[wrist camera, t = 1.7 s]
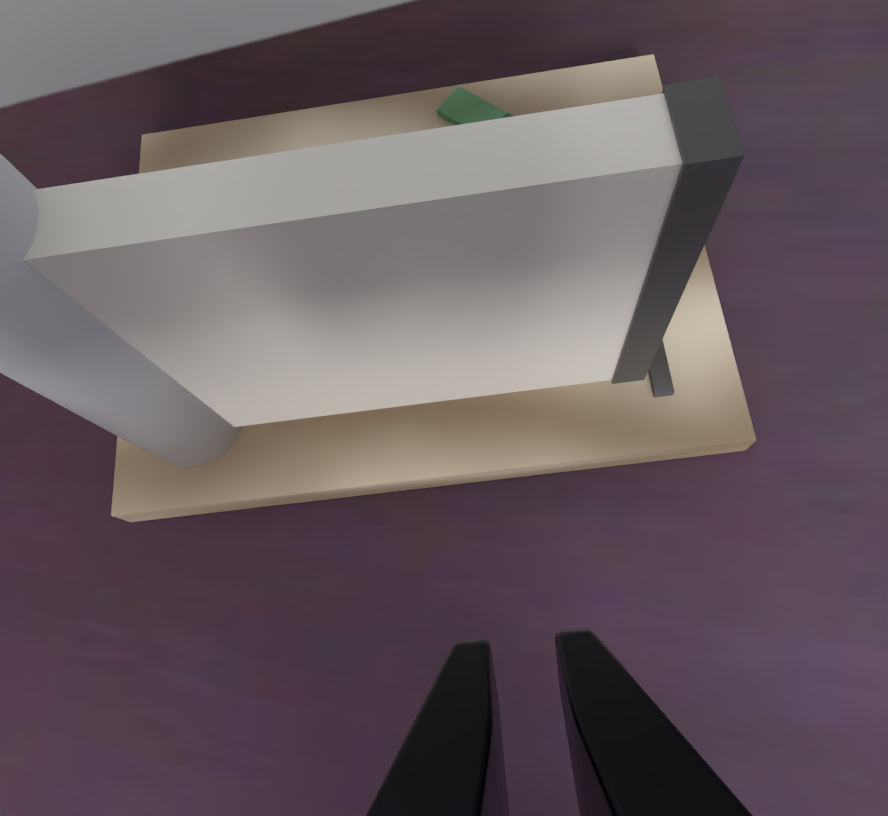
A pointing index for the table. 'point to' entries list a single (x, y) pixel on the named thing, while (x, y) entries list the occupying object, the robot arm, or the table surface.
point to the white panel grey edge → (363, 270)
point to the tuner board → (461, 420)
